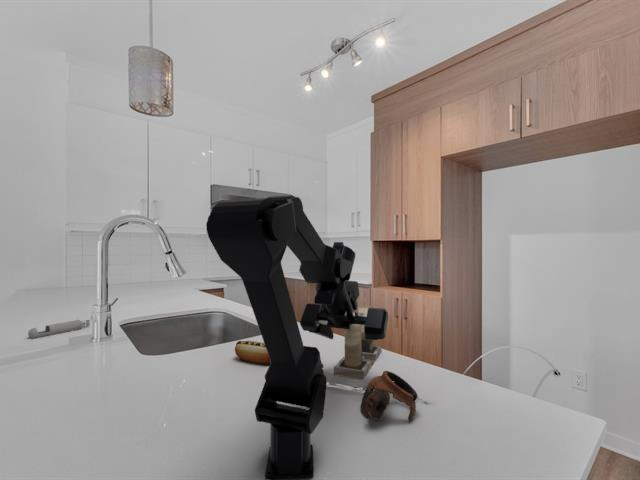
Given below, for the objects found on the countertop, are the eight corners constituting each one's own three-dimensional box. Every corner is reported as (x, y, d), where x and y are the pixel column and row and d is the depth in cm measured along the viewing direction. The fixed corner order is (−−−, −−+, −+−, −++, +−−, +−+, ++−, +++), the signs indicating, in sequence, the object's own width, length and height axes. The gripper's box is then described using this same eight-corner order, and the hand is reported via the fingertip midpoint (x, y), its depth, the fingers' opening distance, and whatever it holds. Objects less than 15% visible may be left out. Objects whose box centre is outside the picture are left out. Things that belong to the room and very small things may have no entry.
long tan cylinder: (370, 358, 84) (370, 308, 84) (356, 356, 86) (356, 307, 86) (374, 352, 88) (374, 305, 88) (360, 350, 90) (360, 304, 90)
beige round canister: (358, 374, 73) (358, 318, 74) (342, 372, 75) (342, 316, 75) (363, 367, 78) (363, 314, 78) (348, 365, 79) (348, 313, 79)
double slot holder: (362, 385, 70) (362, 373, 71) (332, 380, 73) (332, 368, 73) (382, 355, 90) (382, 345, 90) (357, 351, 93) (357, 342, 93)
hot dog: (272, 369, 80) (273, 349, 80) (230, 361, 85) (230, 342, 85) (282, 362, 85) (282, 343, 85) (241, 355, 90) (241, 337, 90)
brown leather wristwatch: (366, 398, 66) (387, 364, 66) (406, 433, 60) (428, 397, 60) (341, 408, 56) (365, 368, 56) (386, 452, 51) (412, 408, 50)
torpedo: (31, 340, 104) (32, 320, 104) (25, 338, 106) (25, 319, 106) (92, 328, 119) (93, 310, 120) (86, 326, 122) (86, 309, 122)
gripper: (386, 271, 66) (395, 314, 76) (305, 268, 73) (323, 307, 83) (378, 316, 59) (389, 357, 69) (289, 308, 66) (310, 346, 76)
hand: (350, 339), depth 74 cm, fingers open, 9 cm apart
